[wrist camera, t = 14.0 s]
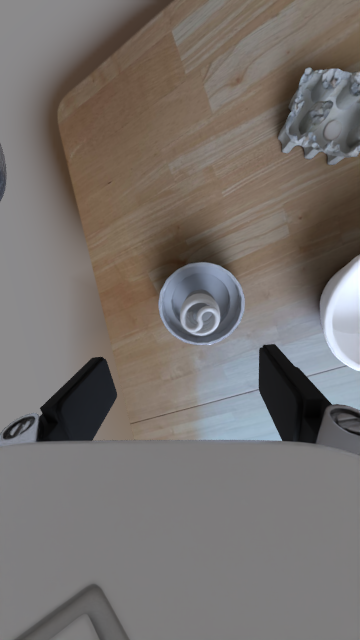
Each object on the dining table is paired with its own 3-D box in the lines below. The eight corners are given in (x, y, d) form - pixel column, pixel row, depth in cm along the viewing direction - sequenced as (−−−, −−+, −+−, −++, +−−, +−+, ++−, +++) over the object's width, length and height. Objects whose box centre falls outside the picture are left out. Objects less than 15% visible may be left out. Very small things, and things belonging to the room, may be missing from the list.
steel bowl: (159, 323, 36) (152, 334, 31) (172, 254, 32) (167, 253, 26) (224, 339, 36) (229, 353, 31) (248, 271, 31) (257, 273, 26)
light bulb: (199, 278, 32) (199, 289, 21) (220, 299, 33) (232, 321, 21) (179, 300, 34) (168, 321, 22) (199, 319, 35) (199, 349, 23)
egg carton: (373, 107, 23) (408, 76, 19) (337, 174, 25) (362, 159, 22) (297, 79, 23) (317, 43, 19) (269, 150, 25) (282, 130, 21)
